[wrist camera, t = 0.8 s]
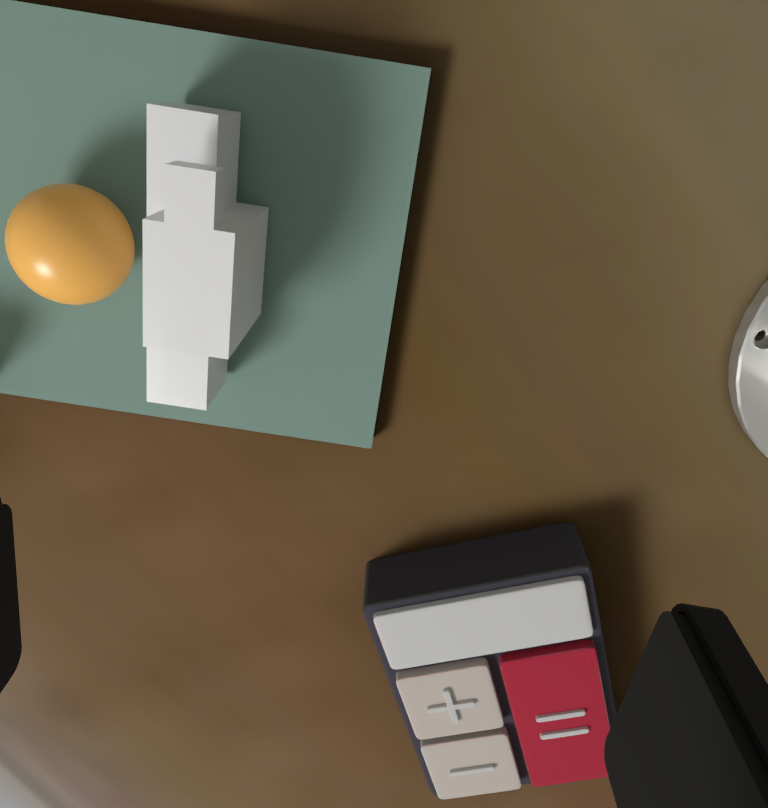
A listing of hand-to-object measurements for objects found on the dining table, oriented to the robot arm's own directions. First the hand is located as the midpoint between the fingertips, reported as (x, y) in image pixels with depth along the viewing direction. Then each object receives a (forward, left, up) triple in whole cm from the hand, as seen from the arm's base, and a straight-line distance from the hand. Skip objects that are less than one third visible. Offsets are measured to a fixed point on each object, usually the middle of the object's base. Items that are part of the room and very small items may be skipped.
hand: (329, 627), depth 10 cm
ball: (+12, 0, -18) cm, 22 cm away
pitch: (+11, 0, -21) cm, 24 cm away
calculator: (-9, +20, -22) cm, 31 cm away
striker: (+7, 0, -20) cm, 21 cm away
